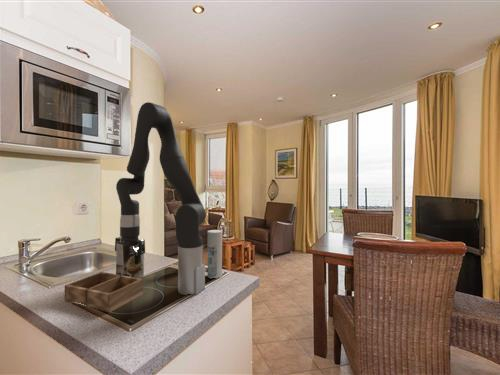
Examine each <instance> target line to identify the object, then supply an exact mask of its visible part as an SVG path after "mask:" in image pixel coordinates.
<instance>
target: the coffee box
mask: <svg viewBox="0 0 500 375" xmlns="http://www.w3.org/2000/svg"><path fill="white" fill-rule="evenodd" d="M132 246H133V247H134V248H138V244H137V243H136V245H135V246H134V244H133V243H128V242H126V243H122V242H120V243H116V251H115V253H116V254H115V256H116V258H115V262H116V263H115V274H117V275H123V276H128V277H134V278H140V279H144V276H145V275H144V272H145V263H144V262H145V261H144V260H145V253H144V254H141V262H140V264H137V265H136V264H135V256H136V255H135V254H134V252H133V251H132ZM136 251H137V252H138V250H136Z"/></svg>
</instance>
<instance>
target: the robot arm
mask: <svg viewBox="0 0 500 375" xmlns="http://www.w3.org/2000/svg"><path fill="white" fill-rule="evenodd" d="M137 114H138V115H137V118H136V119H137V120H136V127H135V133H134V141H133V146H132V150H131V153H130V157H129V160H128V163H127V166H126V171H127V173H129V175H132V176H133V178H132V177H121V178H119V179H118V181H117V182H116V184H115V189H116V193H117V196H118V200H119V204H120V218H119V236H118V237H115V240H114V241H115V243H114V252H116V243H120V242H122V243H126V242H128V243H133V244H134V246H135V245H136V243H137V244H138V248H134V247H133V246H132V251H133V252H134V254H135V255H136V256H135V264H136V265H137V264H140V262H141V254H144V255H145V254H146V241H145V240H146V239H145V238H144V239H139V236H140V229H141V227H140V224H141V223H140V221H141V220H140V219H141V218H140V202H139V201H138V200H135V199H132V197H131V195H139V194H141V193H143V191H144V188H145V173H146V170H147V167H148V164H149V160H150V156H151V155H150V148H149V136H150V132H151V131H152V129H155V130H156V131H157V134H158V136H159V139H160V143H161V144H160V145H161V146H160V151H159V163H160V166H161V168H162V172H163V175H164V177H165V178H166V180H167V182H168V183H169V184H170V185H171V187H172V188H173V189H174V191H175V192H176V193H177V195H178V197H179V199H180V202H181V206H179V207H178V208H177V209H176V213H175V217H174V218H175V219H174V220H175V221H174V222H175V224H174V225H175V237H176V240H177V246H178V247H177V251H178V252H177V292H178V293H179V294H181V295H184V296H186V295H187V294H191V295H198V294H199V293H201V292H202V291H203V290H204V289H206V288H205V287H206V273H205V272H206V264H205V263H204V262H203V260H204V257H203V256H204V255H203V254H204V253H203V252H204V250H203V249H204V247H203V246H204V239H203V237H202V236H201V235H200V230H199V229H200V228H199V227H200V225H202V224H203V223H204V222H205V220H206V214H207V213H206V209H205V207H204V205H203V202H202V200H201V198H200V197H199V195H198V193H197V190H196V188H195V186H194V183H193V180H192V176H191V175H190V172H189V168H188V165H187V162H186V160H185V157H184V155H183V153H182V149H181V146H180V143H179V140H178V138H177V135H176V131H175V127H174V123H173V119H172V116H171V113H170V111H169V110H168V109H167V108H166V107H165V106H162V105H159V104H156V103H153V102H150V101H149V102H145V103H142V105H141V106H140V108H139V110H138V112H137ZM136 250H138V252H137V251H136Z"/></svg>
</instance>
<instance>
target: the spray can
mask: <svg viewBox="0 0 500 375" xmlns="http://www.w3.org/2000/svg"><path fill="white" fill-rule="evenodd" d="M222 266H223V230H222V229H211V230H207V277H208V278H209V279H212V278H216V279H219V278H218V277H220V278H222V276H223V267H222Z"/></svg>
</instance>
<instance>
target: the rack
mask: <svg viewBox="0 0 500 375" xmlns="http://www.w3.org/2000/svg"><path fill="white" fill-rule="evenodd" d="M143 294H144V278H134V277H128V276H123V275H117V274H116V273H110V272H104V271H99V272H97V273H95V274H92V275H89V276H86V277H84V278H81V279H78V280H76V281H73V282H70V283H68V284H67V283H66V284H65V285H64V302H66V303H69V304H73V302H77V303H81V304H84V305H86V306H89V307H88V308H90V307H93V308H92V309H94V308H96V309H95V310H98V309H99V311H103V312H106V313H112V312H113V311H115V310H117V309H118V308H120V307H122V306H124V305H126V304H128V303H129V302H132V301H133V300H134V299H137V298H139V297H140V296H142V295H143ZM86 306H85V307H86Z"/></svg>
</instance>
